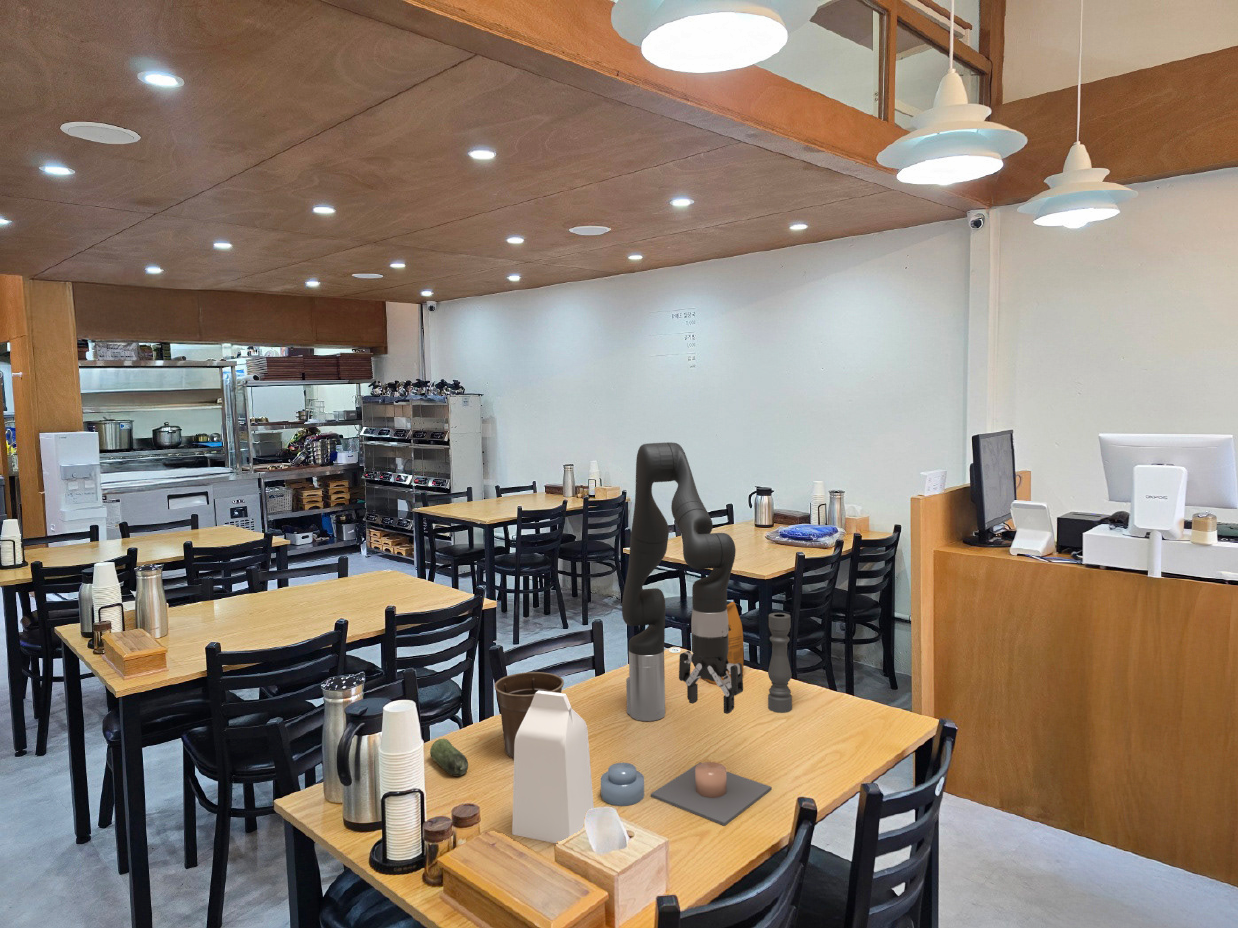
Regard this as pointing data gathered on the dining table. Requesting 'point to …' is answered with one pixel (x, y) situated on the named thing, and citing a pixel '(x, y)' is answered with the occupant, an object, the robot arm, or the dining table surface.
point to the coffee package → (733, 638)
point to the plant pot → (521, 700)
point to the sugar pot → (622, 785)
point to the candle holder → (779, 664)
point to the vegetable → (449, 757)
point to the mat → (713, 809)
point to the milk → (551, 770)
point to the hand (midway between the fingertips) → (710, 707)
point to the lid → (710, 779)
